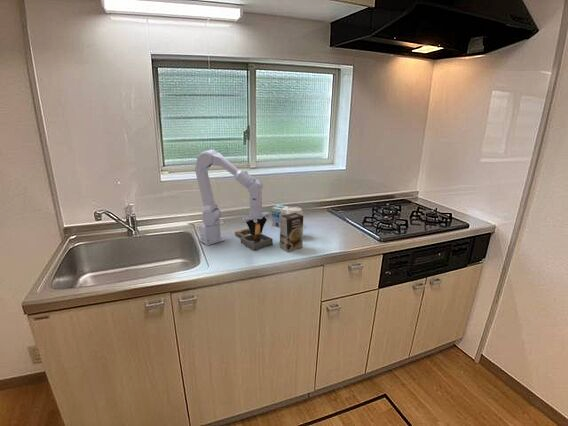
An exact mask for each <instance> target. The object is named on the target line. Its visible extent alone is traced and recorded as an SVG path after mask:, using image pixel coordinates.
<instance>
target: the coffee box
mask: <svg viewBox="0 0 568 426" xmlns="http://www.w3.org/2000/svg"><path fill="white" fill-rule="evenodd" d="M303 233H304V214H303V215H300V214H297V213H291V214H287V215H282V216H280V227H279V248H280V249H281V250H283V251H285V252H286V253H289V252H293V251H296V250H299V249H302V248H303V235H304V234H303Z"/></svg>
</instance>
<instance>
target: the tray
mask: <svg viewBox="0 0 568 426" xmlns="http://www.w3.org/2000/svg"><path fill="white" fill-rule="evenodd" d="M246 235H247V236H244V237H241V238H240V244H242V245H244V246H245V247H246V248H249V249H250V250H253V251H257V250H260V249H264V248H266V247H269V246H272V245H273V238H272V237H269V236H268V235H266V234H264V233H263V232H262V233H261V240H260V241H258V242H254V241H252V235H248V234H246Z"/></svg>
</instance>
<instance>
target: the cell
mask: <svg viewBox="0 0 568 426" xmlns="http://www.w3.org/2000/svg"><path fill="white" fill-rule="evenodd" d="M254 222H255V223H256V224H255V234H254V235H252V241H254V242H258V241H260V240H261V232H260V222H257V221H254Z"/></svg>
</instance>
